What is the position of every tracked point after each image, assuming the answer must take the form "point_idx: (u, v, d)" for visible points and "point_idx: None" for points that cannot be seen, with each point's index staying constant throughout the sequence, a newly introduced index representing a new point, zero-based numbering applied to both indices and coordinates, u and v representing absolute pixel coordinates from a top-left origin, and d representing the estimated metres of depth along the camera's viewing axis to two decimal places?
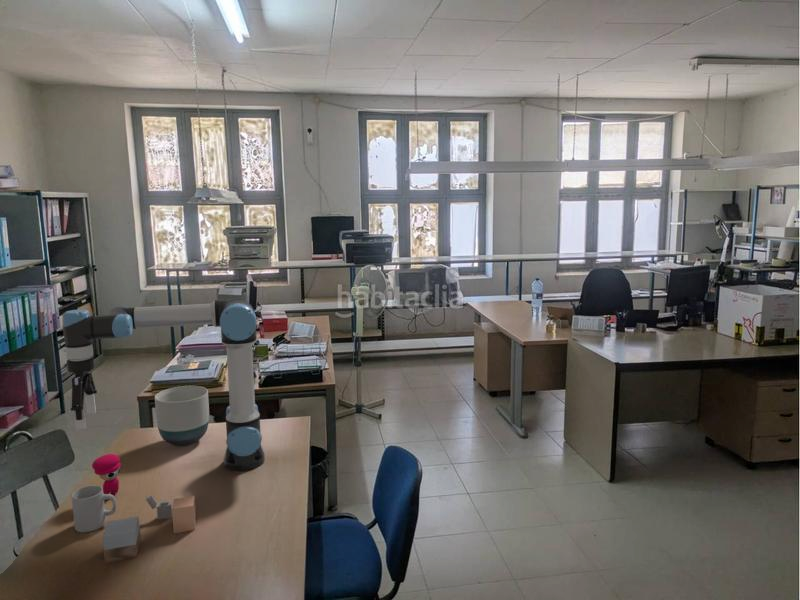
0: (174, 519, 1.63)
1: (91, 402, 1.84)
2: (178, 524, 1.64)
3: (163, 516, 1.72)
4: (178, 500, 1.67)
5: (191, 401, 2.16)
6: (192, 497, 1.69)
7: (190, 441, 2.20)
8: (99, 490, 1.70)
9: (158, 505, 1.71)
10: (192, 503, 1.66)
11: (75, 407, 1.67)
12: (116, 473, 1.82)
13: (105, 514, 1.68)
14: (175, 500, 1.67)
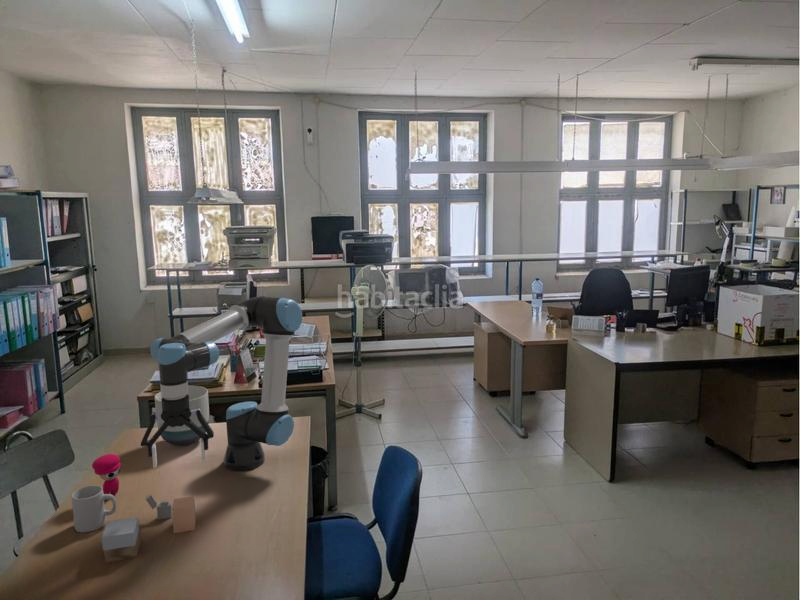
0: (174, 519, 1.63)
1: None
2: (178, 524, 1.64)
3: (163, 516, 1.72)
4: (178, 500, 1.67)
5: (191, 401, 2.16)
6: (192, 497, 1.69)
7: (190, 441, 2.20)
8: (99, 490, 1.70)
9: (158, 505, 1.71)
10: (192, 503, 1.66)
11: (141, 441, 1.60)
12: (116, 473, 1.82)
13: (105, 514, 1.68)
14: (175, 500, 1.67)
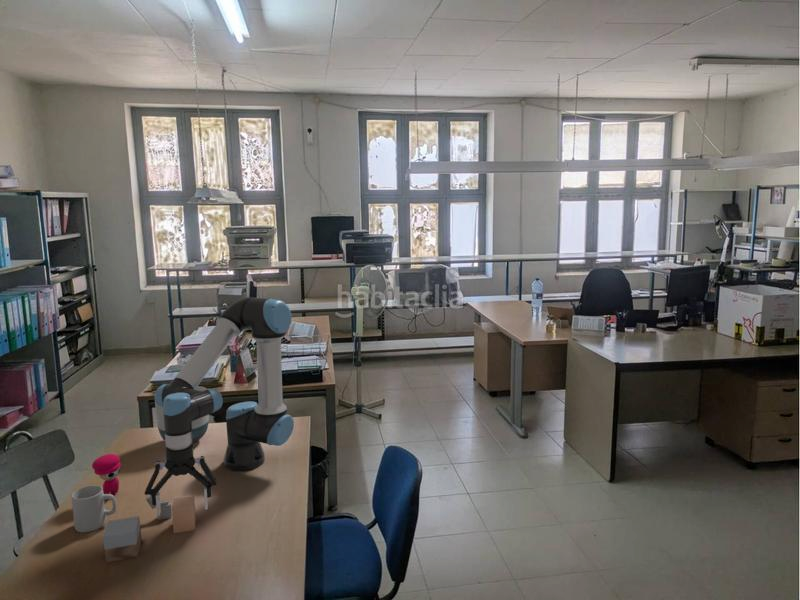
0: (174, 519, 1.63)
1: None
2: (178, 524, 1.64)
3: (163, 516, 1.72)
4: (178, 500, 1.67)
5: None
6: (192, 497, 1.69)
7: None
8: (99, 490, 1.70)
9: None
10: (192, 503, 1.66)
11: (145, 490, 1.62)
12: (116, 473, 1.82)
13: (105, 514, 1.68)
14: (174, 500, 1.67)
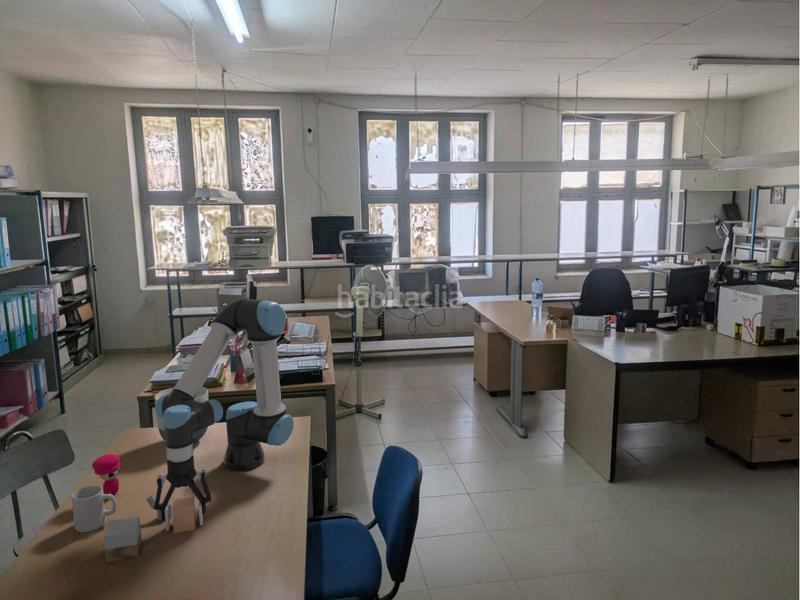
0: (174, 519, 1.63)
1: (199, 512, 1.68)
2: (178, 524, 1.64)
3: None
4: (178, 500, 1.67)
5: None
6: (192, 497, 1.69)
7: None
8: (99, 490, 1.70)
9: None
10: (192, 503, 1.66)
11: (155, 505, 1.64)
12: (116, 473, 1.82)
13: (105, 514, 1.68)
14: (174, 500, 1.67)
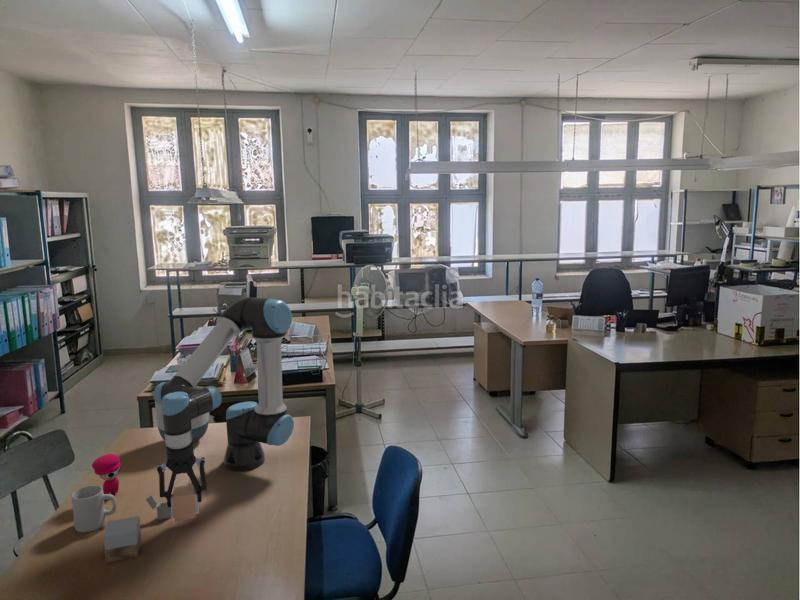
0: (175, 507, 1.63)
1: (195, 500, 1.67)
2: (179, 513, 1.64)
3: (163, 516, 1.72)
4: (178, 488, 1.67)
5: None
6: (192, 485, 1.69)
7: None
8: (99, 490, 1.70)
9: (158, 505, 1.71)
10: (192, 491, 1.66)
11: None
12: (116, 473, 1.82)
13: (105, 514, 1.68)
14: (175, 489, 1.67)
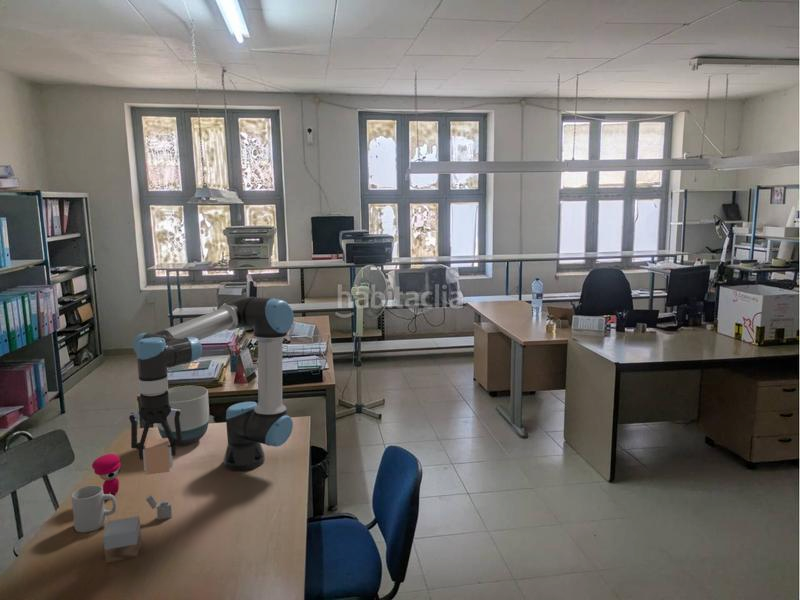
0: (147, 459, 1.55)
1: None
2: (151, 465, 1.56)
3: (163, 516, 1.72)
4: (152, 441, 1.59)
5: (191, 401, 2.16)
6: (167, 438, 1.61)
7: (190, 441, 2.20)
8: (99, 490, 1.70)
9: (158, 505, 1.71)
10: (166, 443, 1.58)
11: None
12: (116, 473, 1.82)
13: (105, 514, 1.68)
14: (148, 441, 1.59)
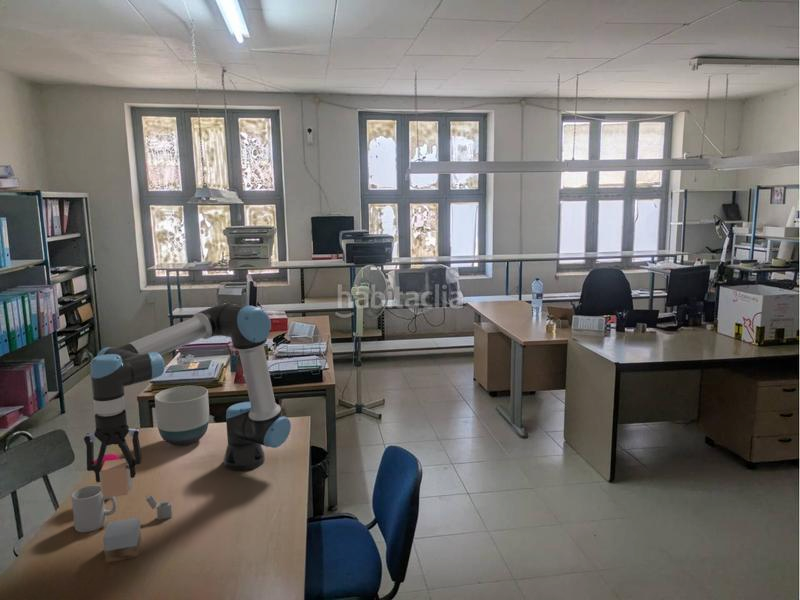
0: (103, 482, 1.48)
1: None
2: (108, 488, 1.49)
3: (163, 516, 1.72)
4: (110, 462, 1.52)
5: (191, 401, 2.16)
6: None
7: (190, 441, 2.20)
8: (99, 490, 1.70)
9: (158, 505, 1.71)
10: (124, 465, 1.50)
11: None
12: None
13: (105, 514, 1.68)
14: (106, 462, 1.52)
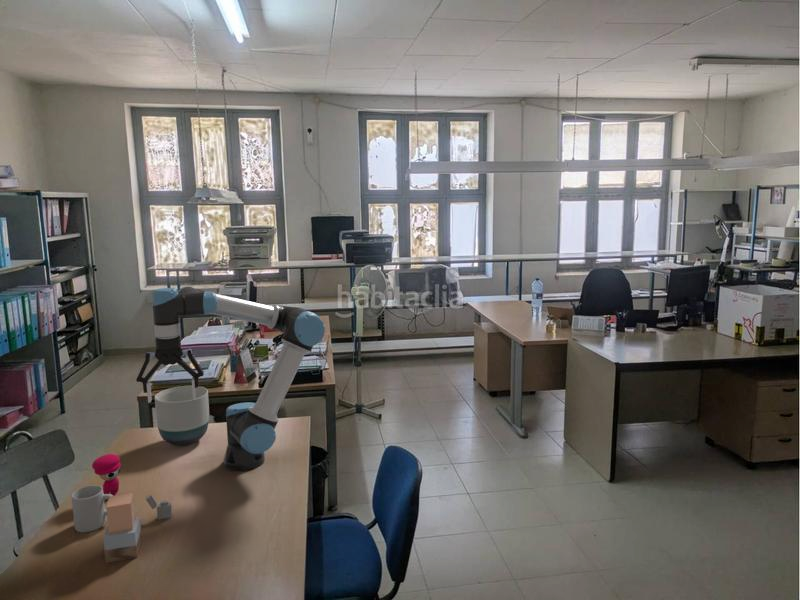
0: (109, 518, 1.50)
1: (192, 386, 1.80)
2: (114, 524, 1.51)
3: (163, 516, 1.72)
4: (114, 498, 1.54)
5: (191, 401, 2.16)
6: (130, 494, 1.56)
7: (190, 441, 2.20)
8: (99, 490, 1.70)
9: (158, 505, 1.71)
10: (129, 500, 1.53)
11: (137, 377, 1.75)
12: (116, 473, 1.82)
13: (105, 514, 1.68)
14: (110, 498, 1.54)
